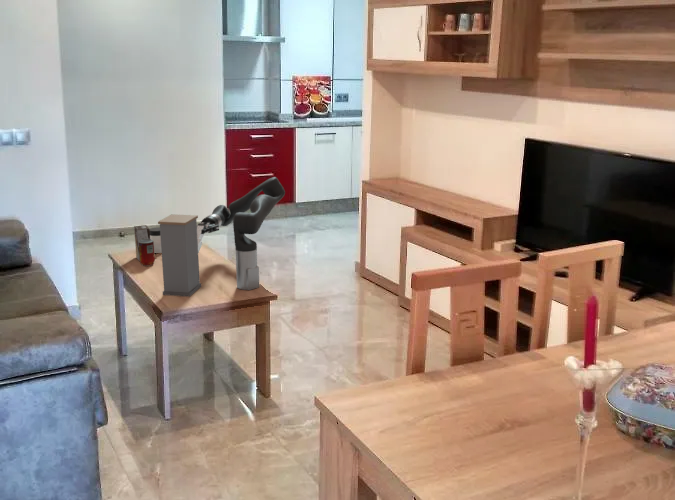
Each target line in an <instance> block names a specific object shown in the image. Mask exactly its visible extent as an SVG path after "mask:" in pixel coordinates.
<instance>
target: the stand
mask: <svg viewBox="0 0 675 500" xmlns="http://www.w3.org/2000/svg"><path fill="white" fill-rule="evenodd" d="M198 218H199V215H195V214H194V215H191V214H169V215H168V216H165V217H164V218H162V219H160V220H158V221H157V224H158V225H159V227H160V236H161V251H162V254H161V263H162V278H163V290H162V295H163V296H174V297H191V296H192V295H193V294H194V293H196V292H197V291H198V290H199V289H200V288H201V287H202V283H201V281H200V264H199V263H200V262H199V253H198V240H197V225H198V223H197V219H198Z"/></svg>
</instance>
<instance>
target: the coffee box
mask: <svg viewBox="0 0 675 500" xmlns="http://www.w3.org/2000/svg"><path fill="white" fill-rule="evenodd" d="M150 229H151V228H149V226H147V225H145V224H144V225H143V224H141V225H136V226H135V225H134V226H133V231H134V242H135V243H134V244H135V254H136V255H135V256H136V259H137V260H138V261H139V262H140V254H139V241H140V240H142V239H150Z"/></svg>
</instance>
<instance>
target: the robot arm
mask: <svg viewBox="0 0 675 500" xmlns="http://www.w3.org/2000/svg"><path fill="white" fill-rule="evenodd" d="M261 192H263V194H260V193H261ZM285 194H286V191H285V188H284V186H283V185H282V183H281V182H280V181H279V179H278V177H276V176H273V177H270V178H267V179H266V180H265V181H262V183H260V184H258V185H256V187H254V188H253V189H251V190H250V191H248V193H246V194H245V195H243V196H242V197H240V198H238V199H235V200H234V201H232V202H231V203H230V204H229V205H228V207H227V206H226V205H224V204H219V205H217V206H216V207H214V209H213V211H212V212H211V214H209V215H207V216H206V217H204V218H202V220H201V222H200V223H202V224H205V225H206V227H205V228H203V229H202V230H201V232H202V234H204V235H205V234H207V233H208V234H211V233H214V232H217V231H220V227H227V226H229V225H230V224H231V223H232V225H233V227H232V228H233V237H234V246H235V248H234V249H235V272H236V276H235V277H236V288H237V289H239V290H245V291H246V290H247V291H251V290H254V289H257V288H260V267H259V266H258V243H257V242H256V241H255V240H253V239H251V238H249V237H247V236H246V235H255V234H257V233H258V232H259V230H260V228H261V227H262V225H263V222H264V220H266V218H267V216H268V215H269V214H270V213H271V212H272V211H273V209H274V207H275V206H276V205H277V204H278V203H279V202H280V201H281V200H282V199H283V198H284V197H285ZM247 211H250V212H247ZM197 226H198V224H197Z"/></svg>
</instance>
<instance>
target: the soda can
mask: <svg viewBox="0 0 675 500" xmlns="http://www.w3.org/2000/svg"><path fill="white" fill-rule="evenodd" d="M139 254H140V261H139V262H140V264H141V266H144V267H149V266H153V265H154V264H155V262H156V258H155V257H156V256H155V254H154V241H153V240H151V239H142V240H140V241H139Z"/></svg>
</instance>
